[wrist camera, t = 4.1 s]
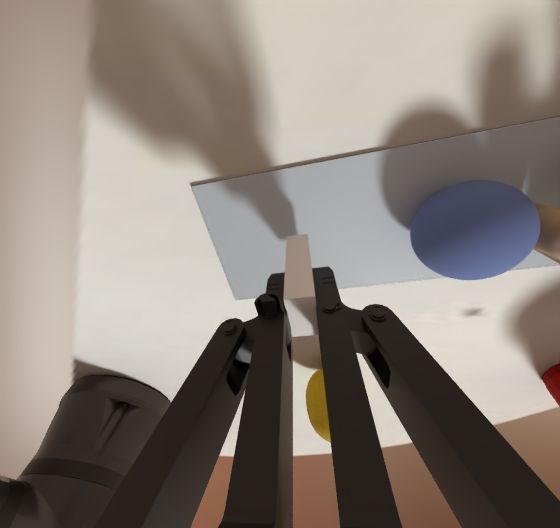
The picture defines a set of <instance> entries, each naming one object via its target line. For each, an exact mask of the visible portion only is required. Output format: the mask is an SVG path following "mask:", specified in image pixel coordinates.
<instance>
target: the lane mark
mask: <svg viewBox="0 0 560 528" xmlns="http://www.w3.org/2000/svg"><path fill="white" fill-rule="evenodd" d="M473 180H490V181H497V182H501V183H505V184H508V185H510V186H513V187H515V188H516V189H518V190H520V191H521V192H523V193H524V194H525V195H527V196H528V197H529V199H530V200H531V201H532V202H536V203H539V204H543V205H547V206H550V207H554V208H558V209H560V117H554V118H549V119H544V120H538V121H533V122H528V123H523V124H517V125H512V126H507V127H501V128H496V129H491V130H486V131H480V132H475V133H470V134H464V135H459V136H454V137H449V138H443V139H438V140H433V141H427V142H422V143H417V144H411V145H406V146H401V147H396V148H390V149H385V150H380V151H374V152H369V153H364V154H359V155H353V156H348V157H343V158H337V159H332V160H327V161H322V162H316V163H311V164H306V165H300V166H295V167H290V168H284V169H279V170H274V171H269V172H263V173H258V174H253V175H247V176H242V177H237V178H232V179H226V180H221V181H216V182H210V183H205V184H200V185H195V186H191V188H192V190H193V193H194V195H195V198H196V201H197V203H198V206H199V208H200V211H201V213H202V216H203V218H204V221H205V223H206V226H207V228H208V231H209V234H210V236H211V239H212V241H213V244H214V246H215V249H216V251H217V254H218V256H219V259H220V262H221V264H222V267H223V269H224V272H225V274H226V277H227V279H228V282H229V284H230V287H231V289H232V292H233V295H234V297H235V300H242V299H251V298H258V297H259V296H260V295H262V294H264V293H266V287H267V280H268V278H269V277H270V275H271V274H274V273H283V272H285V259H286V241H287V236H294V235H301V234H308V240H309V248H310V256H311V264H312V268H319V267H327V266H329V267H330V268H331V269H332V270H333V272H334V276H335V280H336V284H337V288H338V289H344V288H353V287H363V286H372V285H381V284H390V283H400V282H409V281H418V280H427V279H437V278H446V276H443V275H440V274H438V273H436V272H434V271H432V270H431V269H429V268H428V267H427V266H425V265H424V264H423V263H422V262H421V261H420V260H419V258H418V257H417V256H416V254H415V252H414V250H413V248H412V245H411V240H410V230H411V225H412V222H413V219H414V217H415V215H416V213H417V211H418V210H419V209H420V207H421V206H422V205H423V204H424V203H425V202H426V201H427V200H428V199H429V198H430V197H431V196H433V195H434V194H436V193H437V192H439V191H441V190H442V189H444V188H447V187H449V186H451V185H454V184H458V183H461V182H466V181H473ZM557 265H560V264H559V263H557V262H555V261H553V260H552V259H550V258H548V257H546V256H544V255H543V254H541V253H539V252H537V251H535V250H534V249H533V250H532V251H531V253H530V254H529V255H528V256H527V257H526V258H525V259H524V260H523V261H522V262H520V263H519V264H518V265H517V266H515V267H513V268H512V269H510V270H508V271H511V270H520V269H530V268H539V267H548V266H557Z"/></svg>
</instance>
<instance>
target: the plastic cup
mask: <svg viewBox="0 0 560 528" xmlns="http://www.w3.org/2000/svg"><path fill="white" fill-rule="evenodd" d="M542 379H543V382H544V383H545V385H546V388H547V389H548V391H549V392H550V394H551V395H552V396H553V398H554V399H555V401H556V402H557V403H558V405H559V406H560V364H559V365H557V366H555V367H552V368H551V369H550V370H548V371H547V372H545V374H544V375H543V377H542Z"/></svg>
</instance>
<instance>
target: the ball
mask: <svg viewBox="0 0 560 528" xmlns="http://www.w3.org/2000/svg"><path fill="white" fill-rule="evenodd" d="M539 234H540V216H539V214H538V211H537V208H536V207H535V205H534V204H533V202H532V201H531V200H530V199H529V197H528V196H527V195H525V194H524V193H523V192H521V191H520V190H518V189H516V188H515V187H513V186H510V185H508V184H505V183H501V182H497V181H490V180H473V181H466V182H461V183H458V184H454V185H451V186H449V187H447V188H444V189H442V190H441V191H439V192H437V193H436V194H434V195H433V196H431V197H430V198H429V199H428V200H427V201H426V202H425V203H424V204H423V205H422V206H421V207H420V209H419V210H418V211H417V213H416V215H415V217H414V219H413V222H412V225H411V230H410V240H411V245H412V248H413V250H414V252H415V254H416V256H417V257H418V258H419V260H420V261H421V262H422V263H423V264H424V265H425V266H427V267H428V268H429V269H431V270H432V271H434V272H436V273H438V274H440V275H443V276H446V277H449V278H454V279H460V280H478V279H485V278H490V277H493V276H496V275H499V274H502V273H504V272H506V271H508V270H510V269H512V268H513V267H515V266H517V265H518V264H519V263H520V262H522V261H523V260H524V259H525V258H526V257H527V256H528V255H529V254H530V253H531V251H532V250H533V248H534V246H535V245H536V243H537V240H538V238H539Z"/></svg>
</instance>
